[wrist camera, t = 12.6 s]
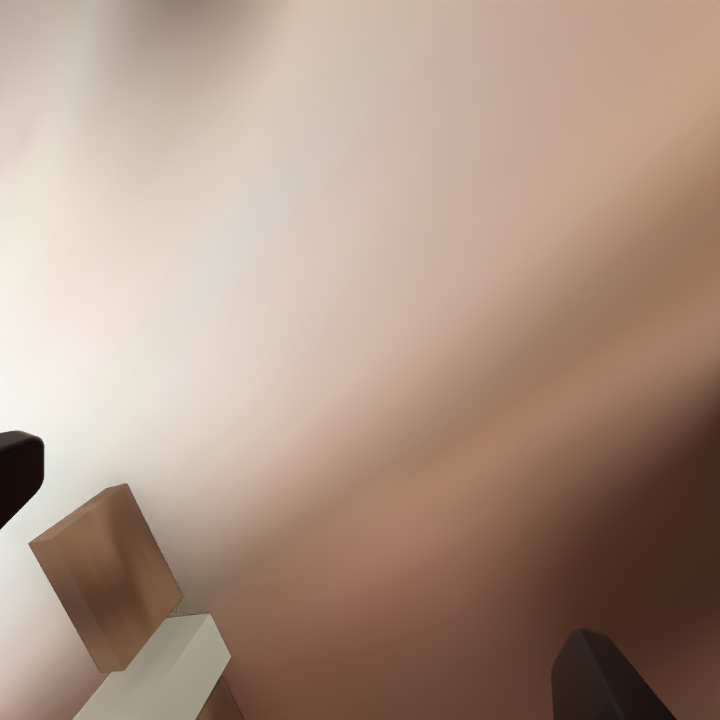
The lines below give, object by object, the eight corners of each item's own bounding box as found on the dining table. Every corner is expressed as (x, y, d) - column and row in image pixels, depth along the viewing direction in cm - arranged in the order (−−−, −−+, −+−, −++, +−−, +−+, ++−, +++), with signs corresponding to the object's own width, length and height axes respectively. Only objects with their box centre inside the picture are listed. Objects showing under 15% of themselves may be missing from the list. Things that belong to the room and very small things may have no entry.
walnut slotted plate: (105, 488, 24) (28, 543, 20) (127, 483, 24) (51, 538, 20) (248, 769, 28) (208, 865, 24) (269, 770, 27) (231, 868, 23)
